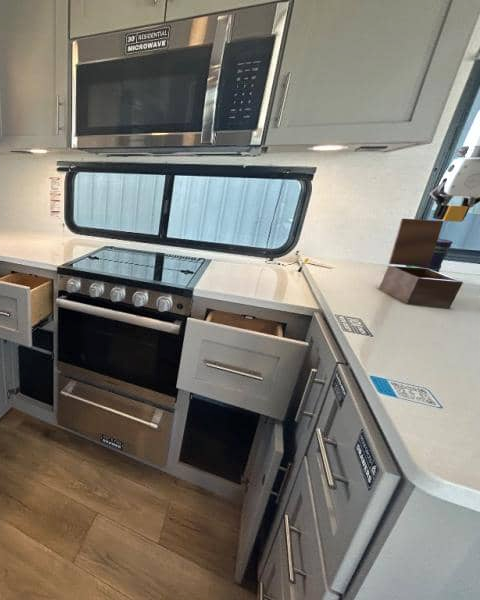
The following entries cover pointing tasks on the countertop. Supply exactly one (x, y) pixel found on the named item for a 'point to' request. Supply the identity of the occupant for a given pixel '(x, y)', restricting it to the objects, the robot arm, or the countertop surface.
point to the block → (455, 213)
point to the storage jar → (438, 254)
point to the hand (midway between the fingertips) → (447, 219)
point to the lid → (415, 242)
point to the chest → (420, 286)
